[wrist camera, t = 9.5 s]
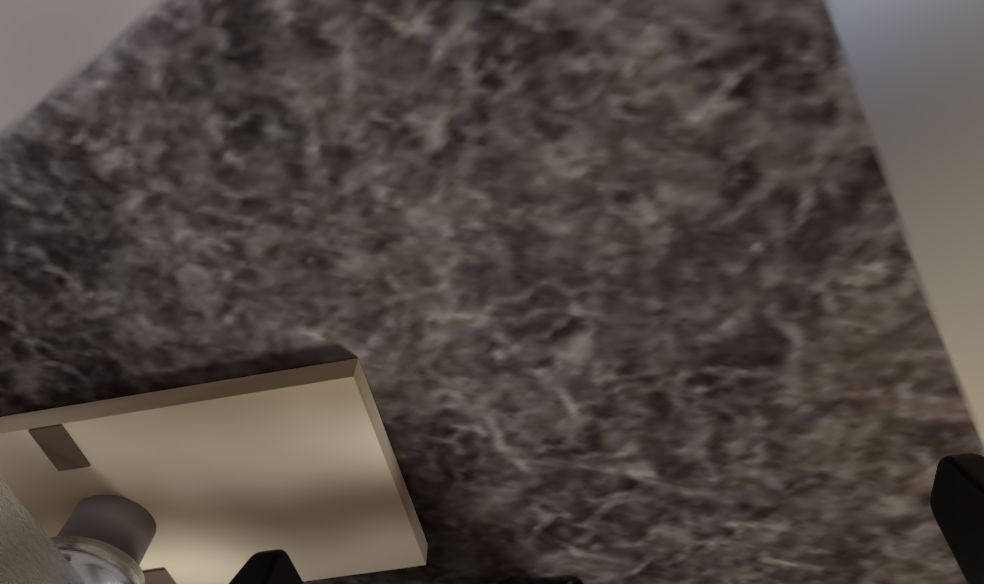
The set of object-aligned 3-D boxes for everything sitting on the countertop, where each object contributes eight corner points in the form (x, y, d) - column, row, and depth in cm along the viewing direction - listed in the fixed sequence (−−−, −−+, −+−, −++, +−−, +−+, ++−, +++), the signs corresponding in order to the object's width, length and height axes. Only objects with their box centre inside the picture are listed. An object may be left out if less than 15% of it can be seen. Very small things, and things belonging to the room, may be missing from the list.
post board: (427, 543, 28) (422, 610, 25) (-48, 609, 30) (-98, 677, 27) (358, 358, 22) (342, 418, 20) (-212, 451, 24) (-294, 517, 22)
